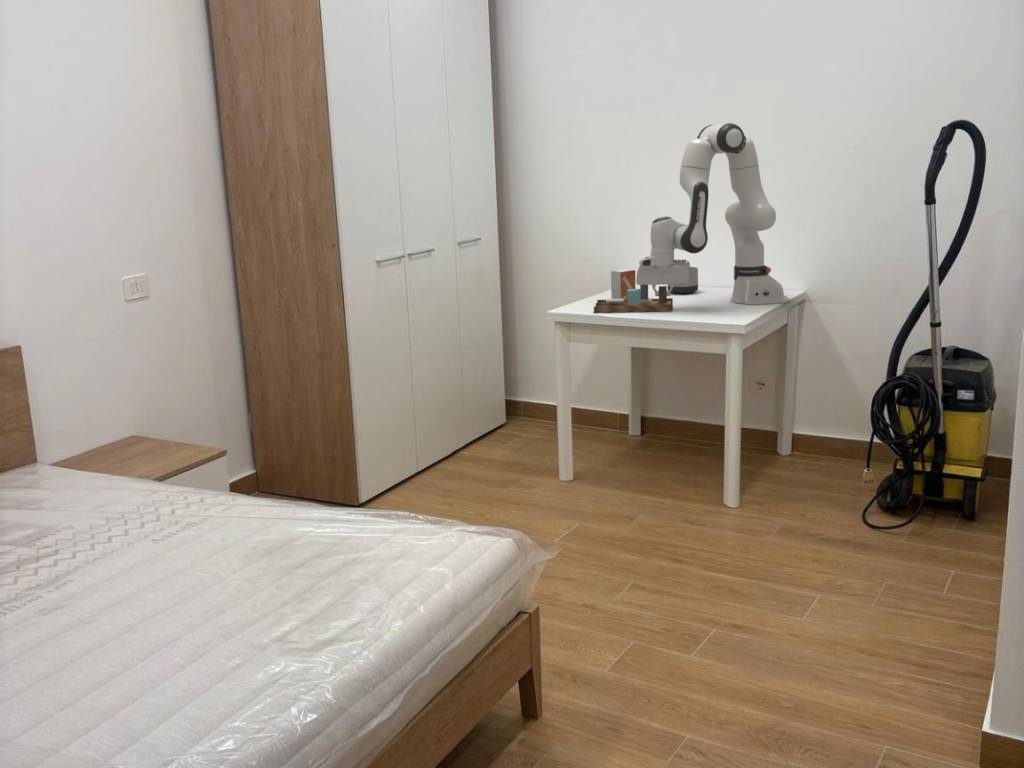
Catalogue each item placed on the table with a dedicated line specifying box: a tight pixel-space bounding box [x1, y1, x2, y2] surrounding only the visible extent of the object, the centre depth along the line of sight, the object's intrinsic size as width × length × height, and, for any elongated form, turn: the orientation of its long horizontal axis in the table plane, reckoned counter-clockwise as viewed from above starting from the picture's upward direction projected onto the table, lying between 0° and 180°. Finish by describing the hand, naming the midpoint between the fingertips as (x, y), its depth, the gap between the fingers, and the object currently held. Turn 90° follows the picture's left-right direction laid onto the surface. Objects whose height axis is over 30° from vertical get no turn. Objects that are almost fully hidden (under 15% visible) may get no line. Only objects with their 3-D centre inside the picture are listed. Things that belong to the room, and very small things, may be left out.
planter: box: [666, 266, 699, 295], centre depth 417 cm, size 13×13×10 cm
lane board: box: [593, 297, 674, 314], centre depth 385 cm, size 30×17×2 cm, turn 80°
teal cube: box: [627, 288, 641, 304], centre depth 380 cm, size 5×5×5 cm
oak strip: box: [623, 285, 671, 306], centre depth 380 cm, size 18×6×8 cm, turn 80°
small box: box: [610, 268, 637, 299], centre depth 402 cm, size 8×6×13 cm
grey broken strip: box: [605, 285, 653, 303], centre depth 389 cm, size 18×6×8 cm, turn 80°
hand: (662, 295), depth 379 cm, fingers closed on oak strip, 3 cm apart
